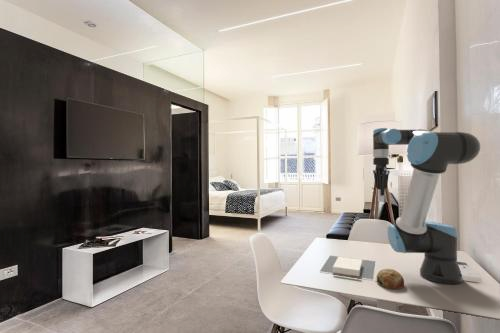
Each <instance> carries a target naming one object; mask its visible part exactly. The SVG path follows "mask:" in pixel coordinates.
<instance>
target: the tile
mask: <svg viewBox="0 0 500 333" xmlns="http://www.w3.org/2000/svg"><path fill="white" fill-rule="evenodd" d="M360 259H361V258H354V259H352V257H346V258H344V256H338V258H337V260H336V262H335V264H334V265H333V273H332V274H335V273H336V274H335V275H341V274H343V275H342V276H348V275H350V276H349V277H354V276H356V277H355V278H360V277H359V276H360V272H361V268H362V260H363V259H361V260H360Z"/></svg>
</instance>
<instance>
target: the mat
mask: <svg viewBox="0 0 500 333" xmlns="http://www.w3.org/2000/svg"><path fill="white" fill-rule="evenodd" d="M338 257H339V255H338V256H337V255H329V257H327V260H326V261H325V263H324V264H323V266H322V267H321V268H320V270H319V273H322V274H323V273H326V274H328V275H330V274H332V275H333V276H336V275H337V274H336V273H333V265H334V264H335V262H336V260H337V258H338ZM343 257H344V256H343ZM344 258H347V257H344ZM351 258H352V257H351ZM352 259H355V258H354V257H353V258H352ZM359 259H360V260H362V268H361V272H360V276H359V277H358V279H360V280H362V279H364V280H367V281H368V280H371V281H374V275H375V274H374V273H375V265H376V264H375V263H376V260H369V259H361V258H359ZM340 276H342V277H343V276H344V275H343V274H339V277H340ZM345 277H348V278H349V277H351V276H350V275H345ZM353 278H355V279H356V278H357V277H356V276H352V279H353Z"/></svg>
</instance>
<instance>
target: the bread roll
mask: <svg viewBox="0 0 500 333" xmlns="http://www.w3.org/2000/svg"><path fill="white" fill-rule="evenodd" d="M376 282H377V285H378V286H381V287H384V288H386V289H389V290H400V289H402V288H404V286H405V280H404V277H403V275H401V274H400V272H398V271H396V270H395V269H392V268H383V269H381V270H379V271H378V272H377V275H376Z"/></svg>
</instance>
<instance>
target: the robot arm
mask: <svg viewBox="0 0 500 333" xmlns="http://www.w3.org/2000/svg"><path fill="white" fill-rule="evenodd" d="M372 138H373V139H372V141H373V142H372V144H373V146H372V148H373V150H372V157H373V160H372V163H373V165H374V166H375V170H372V173H373V177H374V188H376V189H377V202H381V203H383V202H385V190H386V189H388V182H389V176H390V175H389V174H390V173H391V171H390V169H389V170H388V167H387V166H388V165H389V163H390V160H389V159H390V158H389V154H390V151H389V148H390V147H389V146H391V145H392V146H394V145H395V146H397V145H398V146H399V145H401V146H402V145H405V146H407V145H408V146H407V149H406V153H407V155H406V158H407V160H408V162H409V163H410V166H411V167H412V169H413V171H412V175H411V180H410V183H409V187H408V190H407V194H406V198H405V202H404V205H403V208H402V213H401V216H399V217H397V218H396V220H395V224H390V225H389V226H388V227H387V237H388V242H389V245H390V247H391V249H392V250H393V251H395V252H396V253H400V254H401V253H402V254H424V257H423V260H422V263H421V267H420V268H419V274H420V276H421V277H422V278H423V279H426V280H428V281H430V282H431V281H432V282H434V283H439V284H446V285H458V284H459V285H460V284H462V283H463V274H462V271H461V268H460V266H459V264H458V234H457V233H458V232H457V229H456V227H454V226H452V225H450V224H446V223H441V222H435V221H426V218H427V216H428V213H429V210H430V207H431V203H432V200H433V198H434V193H435V191H436V187H437V184H438V181H439V178H440V175H442V174H445V173H446V171H447V168H448V165H462V164H466V163H469V162H471V161H473V160H474V159H475V158H476V157H477V156H478V155H479V153H480V151H481V143H480V140H479V139H478V138H477V137H476V136H475V135H473V134H471V133H468V132H461V131H455V132H453V131H450V132H448V131H447V132H444V131H443V132H438V131H437V132H436V131H429V130H427V129H421V128H420V129H397V128H389V129H388V128H386V127H380V128H374V130H373V134H372Z"/></svg>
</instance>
